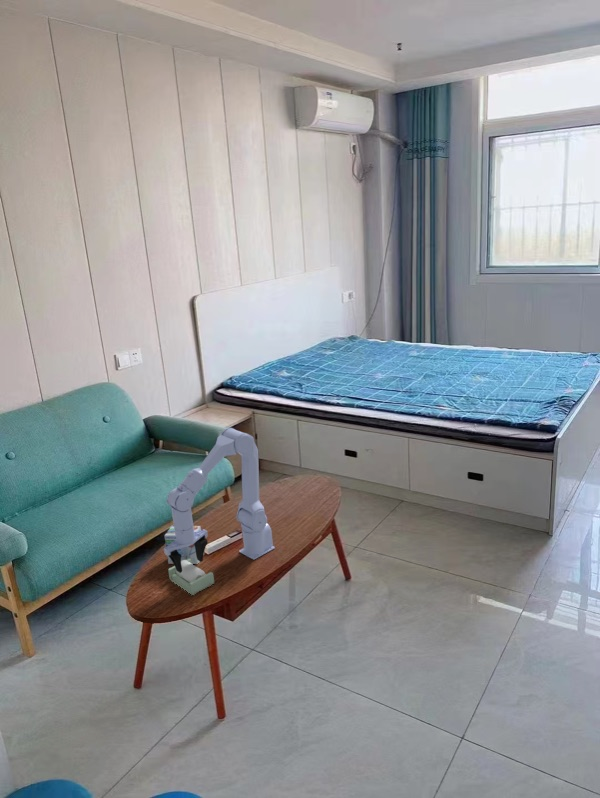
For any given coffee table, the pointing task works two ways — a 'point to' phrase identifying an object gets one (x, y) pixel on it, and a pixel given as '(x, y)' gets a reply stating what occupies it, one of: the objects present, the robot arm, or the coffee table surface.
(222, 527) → the coffee table surface
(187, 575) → the roll
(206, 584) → the holder
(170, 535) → the light bulb box
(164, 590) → the coffee table surface
